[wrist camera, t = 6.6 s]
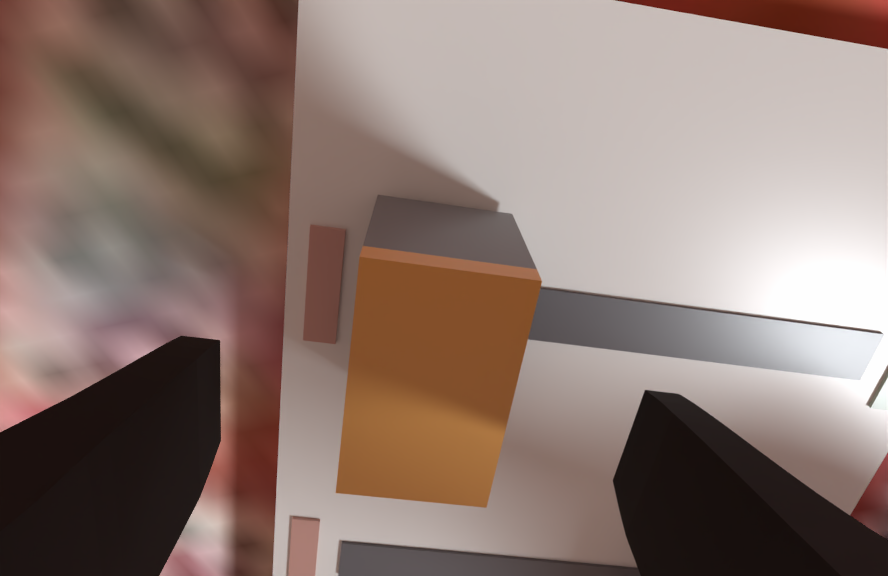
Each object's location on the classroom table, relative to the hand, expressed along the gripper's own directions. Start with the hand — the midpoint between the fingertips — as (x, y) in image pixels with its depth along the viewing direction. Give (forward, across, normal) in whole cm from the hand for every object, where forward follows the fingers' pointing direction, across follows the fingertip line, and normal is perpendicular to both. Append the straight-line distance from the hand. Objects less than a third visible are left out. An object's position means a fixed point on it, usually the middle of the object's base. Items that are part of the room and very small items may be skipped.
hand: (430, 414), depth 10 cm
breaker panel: (+7, -5, +4) cm, 9 cm away
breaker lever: (+4, 0, 0) cm, 4 cm away
